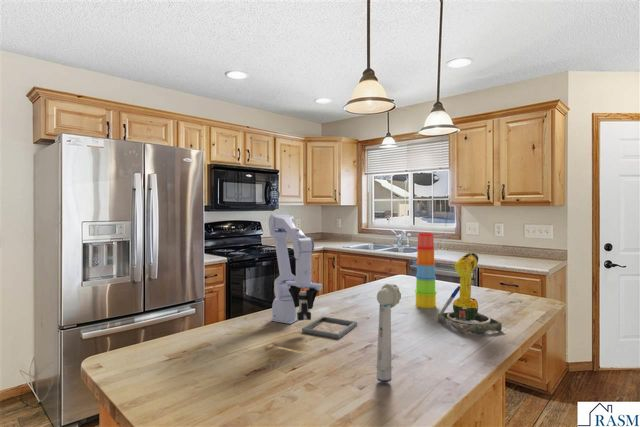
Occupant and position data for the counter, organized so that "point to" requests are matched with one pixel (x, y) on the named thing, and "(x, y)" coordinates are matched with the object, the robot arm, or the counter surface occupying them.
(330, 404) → the counter surface
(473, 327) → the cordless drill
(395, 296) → the toothbrush head
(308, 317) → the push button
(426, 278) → the stacking cups
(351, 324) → the frame
